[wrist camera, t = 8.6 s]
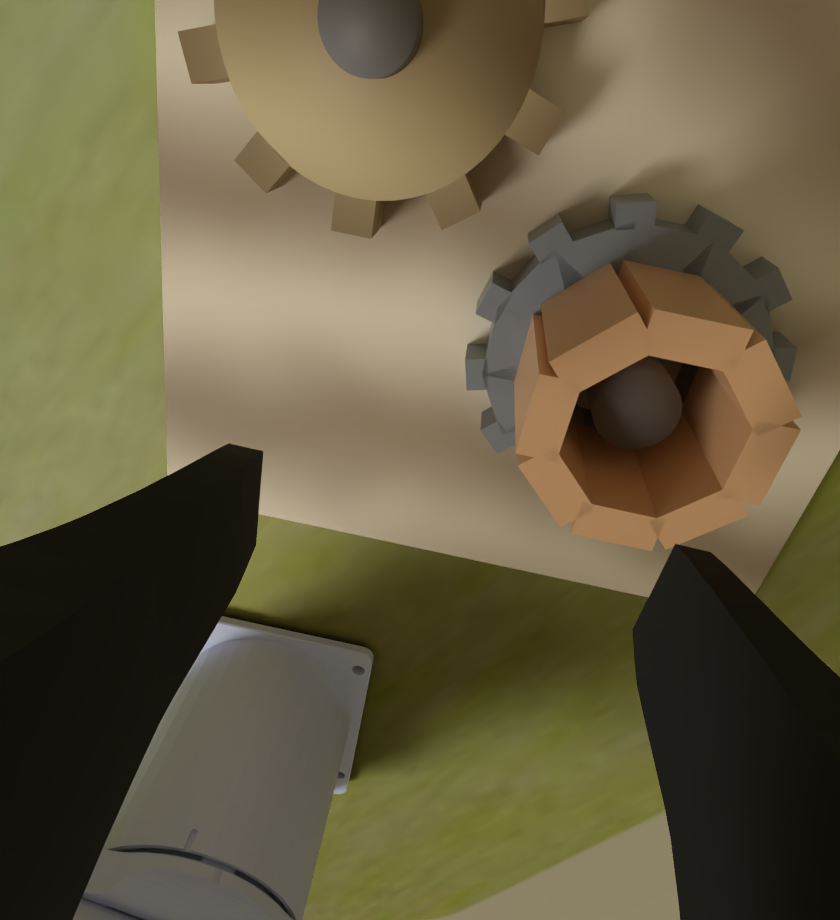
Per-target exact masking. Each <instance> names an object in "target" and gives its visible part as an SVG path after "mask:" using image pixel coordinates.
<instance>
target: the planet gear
mask: <svg viewBox="0 0 840 920" xmlns="http://www.w3.org/2000/svg"><path fill="white" fill-rule="evenodd" d="M656 206H657V201H656V200H655V199H654V198H653V197H651V196H650V195H649V194H648V193H644V194H629V195H615V196H610V199H609V217H608V219H606V220H603V221H600V222H597V223H594V224H591V225H588V226H585V227H582V228H579V229H576V230H573V231H570V232H569V231H568V229H567V227H566V226H565V224H564V222H563V220H562V218H561V217H560V215H559V213H558V214H557V215H555V216H554V217H552V218H551V219H549V220H548V221H546V222H544V223H543V224H541V225H540V226H538V227H537V228H535V229H534V230H532V231H531V232H529V233H528V242H529V245H530V247H531V248H532V250H533V252H534V253H535V255H534V256H533V258H532V259H531V260H530V261H529V262H528V263H527V264H526V265H525V266H524V267H523V268H522V269H521V270H520V271H519V272H518V273H517V274H516V276H515V277H514V278H513V279H512V280H510V279H508V278H506V277H504V276H502V275H500V274H498V273H496V272H494V271H493V272H492V274H491V276H490V278H489V280H488V282H487V283H486V285H485V287H484V289H483V291H482V293H481V295H480V297H479V298H478V300H477V307H476V314H477V315H479V316H480V317H482V318H484V319H486V320H488V321H490V322H492V324H491V328H490V332H489V336H488V340H487V343H485V344H467V350H466V356H465V370H466V390H467V391H468V390H487V393H488V396H489V399H490V402H491V405H492V407H490V408H488V409H486V410H485V411H483V412H482V416H481V428H480V431H481V432H482V433H483V435H484V436H485V438H486V439H487V441H488V442H489V443H490V445H491V446H492V448H493V449H494V451H495V452H496V453H497V454H498V453H500V452H502V451H504V450H506V449H508V448H510V447H512V446H514V447H515V449H516V454H517V461H518V467H519V468H520V470H521V471H522V473H523V474H524V476H525V477H526V479H527V480H528V481H529V483H530V484H531V486H532V487H533V489H534V490H535V492H536V493H537V494H538V496H539V497H540V499H541V500H542V502H543V503H544V505H545V506H546V507H547V509H548V510H549V512H550V513H551V515H552V516H553V518H554V519H555V520H556V522H557V523H558V525H559V526H560V527H561V526H563V525H566V524H568V523H569V524H570V532H571V534H574V535H579V536H583V537H588V538H593V539H597V540H602V541H606V542H611V543H616V544H620V545H625V546H629V547H634V548H639V549H643V550H648V551H652V549H653V547H654V545H655V543H656V541H657V539H658V538H659V540H660V542H661V543H662V545H663V546H664V548H665V550H667V549H669V548H672V547H674V545H675V544H678V545H679V544H681V543H684V542H686V541H689V540H691V539H693V538H696V537H698V536H701V535H703V534H705V533H708V532H710V531H713V530H715V529H717V528H720V527H722V526H725V525H727V524H729V523H732V522H734V521H737V520H739V519H741V518H744V517H746V516H749V515H748V514H747V512H746V510H745V508H744V506H743V504H742V503H741V502H743V503H748V504H752V505H757V506H760V505H761V503H762V501H763V499H764V497H765V495H766V494H767V492H768V490H769V488H770V486H771V484H772V483H773V481H774V479H775V477H776V475H777V473H778V472H779V470H780V468H781V466H782V464H783V462H784V461H785V459H786V457H787V455H788V453H789V451H790V450H791V448H792V446H793V444H794V442H795V440H796V439H797V437H798V435H799V433H800V431H801V429H800V428H799V427H798V426H797V425H796V423H795V422H794V421H793V420H795V419H798V418H800V417H802V415H801V413H800V411H799V409H798V407H797V405H796V402H795V400H794V398H793V396H792V394H791V392H790V390H789V387H788V385H787V383H786V381H790V379H791V375H792V370H793V365H794V360H795V356H796V351H797V347H796V346H795V345H794V344H792V343H791V342H790V341H789V340H788V339H787V338H786V337H785V336H784V335H783V334H782V333H780V332H772V327H771V318H770V311H772V310H774V309H775V308H777V307H779V306H781V305H783V304H785V303H787V302H789V301H791V300H793V299H792V297H791V295H790V293H789V290H788V288H787V286H786V283H785V281H784V279H783V277H782V274H781V272H780V270H779V268H778V267H777V266H775V265H774V264H772V263H771V262H769V261H768V260H766V259H765V258H763V257H762V256H761V257H760V258H758V259H756V260H754V261H752V262H751V263H749V264H747V265H745V266H743V267H742V266H741V264H740V263H739V262H738V261H737V260H736V259H735V258H734V257H733V256H732V255H731V254H730V253H729V251H730V250H731V248H732V247H733V246H734V244H735V243H736V241H737V240H738V239H739V237H740V236H741V234H742V233H743V232H744V230H743V229H741V228H739V227H738V226H736V225H735V224H733V223H731V222H730V221H728V220H726V219H724V218H723V217H721V216H719V215H717V214H715V213H714V212H712V211H710V210H708V209H706V208H705V207H703V206H701V205H699V204H698V205H697V207H696V208H695V210H694V211H693V213H692V214H691V216H690V217H689V219H688V220H687V222H686V223H685V225H683V224H679V223H674V222H669V221H665V220H660V219H655V217H656ZM648 355H649V356H654V357H658V358H663V359H668V360H672V361H677V362H682V363H683V364H682V367H681V369H680V371H679V374H678V376H677V379H676V381H675V383H674V384H675V386H676V388H677V389H678V391H679V394H680V396H681V400H682V413H681V417H680V420H679V422H678V424H677V426H676V427H675V429H674V430H673V431H672V432H671V434H670V435H668V436H667V437H666V438H665V439H664V440H662V441H661V442H659V443H657V444H655V445H653V446H650V447H647V448H642V449H624V448H620V447H617V446H614V445H612V444H610V443H609V442H607V441H606V440H605V439H603V437H602V436H601V435H600V434H599V433H598V431H597V429H596V427H595V424H594V421H593V417H592V413H591V409H586V408H581V407H580V406H579V405H578V404H577V403H576V402H577V399H578V396H579V393H580V392H581V391H583V390H585V389H587V388H589V387H591V386H592V385H594V384H596V383H598V382H600V381H602V380H604V379H605V378H607V377H609V376H611V375H613V374H615V373H617V372H619V371H620V370H622V369H624V368H626V367H628V366H630V365H632V364H634V363H635V362H637V361H639V360H641V359H643V358H645V357H647V356H648Z"/></svg>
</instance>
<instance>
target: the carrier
mask: <svg viewBox="0 0 840 920" xmlns="http://www.w3.org/2000/svg"><path fill="white" fill-rule="evenodd" d="M155 31H156V68H157V105H158V142H159V179H160V217H161V254H162V291H163V328H164V366H165V403H166V440H167V476H168V475H170V474H172V473H174V472H176V471H178V470H179V469H181V468H183V467H185V466H187V465H189V464H190V463H192V462H194V461H196V460H198V459H200V458H201V457H203V456H205V455H207V454H209V453H211V452H213V451H214V450H216V449H218V448H220V447H222V446H224V445H226V444H229V443H230V444H234V445H239V446H243V447H247V448H252V449H256V450H261V451H263V463H262V475H261V488H260V500H259V513H258V514H261V515H266V516H271V517H275V518H280V519H285V520H289V521H294V522H299V523H303V524H308V525H313V526H317V527H322V528H327V529H331V530H336V531H341V532H345V533H350V534H355V535H359V536H364V537H369V538H373V539H378V540H383V541H387V542H392V543H397V544H401V545H406V546H411V547H415V548H420V549H425V550H429V551H434V552H439V553H443V554H448V555H453V556H457V557H462V558H467V559H471V560H476V561H481V562H485V563H490V564H494V565H499V566H504V567H508V568H513V569H518V570H522V571H527V572H532V573H536V574H541V575H546V576H550V577H555V578H560V579H564V580H569V581H574V582H578V583H583V584H588V585H592V586H597V587H602V588H606V589H611V590H616V591H620V592H625V593H630V594H634V595H639V596H644V597H648V598H649V596H650V594H651V592H652V590H653V588H654V586H655V584H656V582H657V580H658V578H659V576H660V574H661V572H662V569H663V567H664V565H665V563H666V561H667V559H668V557H669V555H670V553H671V551H672V549H673V547H672V548H669V549H667V550H665V548H664V546H663V545H662V543H661V542H660V540H659V538H658V539H657V541H656V543H655V545H654V547H653V549H652V551H648V550H643V549H639V548H634V547H629V546H625V545H620V544H616V543H611V542H606V541H602V540H597V539H593V538H588V537H583V536H579V535H574V534H571V532H570V524H569V523H568V524H566V525H563V526H561V527H560V526H559V525H558V523H557V522H556V520H555V519H554V518H553V516H552V515H551V513H550V512H549V510H548V509H547V507H546V506H545V505H544V503H543V502H542V500H541V499H540V497H539V496H538V494H537V493H536V492H535V490H534V489H533V487H532V486H531V484H530V483H529V481H528V480H527V479H526V477H525V476H524V474H523V473H522V471H521V470H520V468H519V467H518V461H517V454H516V449H515V447H514V446H512V447H510V448H508V449H506V450H504V451H502V452H500V453H498V454H497V453H496V452H495V451H494V449H493V448H492V446H491V445H490V443H489V442H488V441H487V439H486V438H485V436H484V435H483V433H482V432H481V431H480V428H481V416H482V412H483V411H485V410H486V409H488V408H490V407H492V405H491V402H490V399H489V396H488V393H487V390H468V391H467V390H466V370H465V356H466V350H467V344H485V343H487V340H488V336H489V332H490V328H491V324H492V322H490V321H488V320H486V319H484V318H482V317H480V316H479V315H477V314H476V307H477V300H478V298H479V297H480V295H481V293H482V291H483V289H484V287H485V285H486V283H487V282H488V280H489V278H490V276H491V274H492V272H493V271H494V272H496V273H498V274H500V275H502V276H504V277H506V278H508V279H510V280H512V279H513V278H514V277H515V276H516V274H517V273H518V272H519V271H520V270H521V269H522V268H523V267H524V266H525V265H526V264H527V263H528V262H529V261H530V260H531V259H532V258H533V256H534V255H535V253H534V252H533V250H532V248H531V247H530V245H529V242H528V233H529V232H531V231H532V230H534V229H535V228H537V227H538V226H540V225H541V224H543V223H544V222H546V221H548V220H549V219H551V218H552V217H554V216H555V215H557V214H558V213H559V215H560V217H561V218H562V220H563V222H564V224H565V226H566V227H567V229H568V231H569V232H570V231H573V230H576V229H579V228H582V227H585V226H588V225H591V224H594V223H597V222H600V221H603V220H606V219H608V217H609V199H610V196H615V195H629V194H644V193H648V194H649V195H650V196H651V197H653V198H654V199H655V200H656V201H657V206H656V217H655V219H660V220H665V221H669V222H674V223H679V224H683V225H685V223H686V222H687V220H688V219H689V217H690V216H691V214H692V213H693V211H694V210H695V208H696V207H697V205H698V204H699V205H701V206H703V207H705V208H706V209H708V210H710V211H712V212H714V213H715V214H717V215H719V216H721V217H723V218H724V219H726V220H728V221H730V222H731V223H733V224H735V225H736V226H738V227H739V228H741V229H743V230H744V232H743V233H742V234H741V236H740V237H739V239H738V240H737V241H736V243H735V244H734V246H733V247H732V248H731V250H730V251H729V253H730V254H731V255H732V256H733V257H734V258H735V259H736V260H737V261H738V262H739V263H740V264H741V266H742V267H743V266H745V265H747V264H749V263H751V262H752V261H754V260H756V259H758V258H760V257H761V256H762V257H763V258H765V259H766V260H768V261H769V262H771V263H772V264H774V265H775V266H777V267H778V268H779V270H780V272H781V274H782V277H783V279H784V281H785V283H786V286H787V288H788V290H789V293H790V295H791V297H792V299H793V300H791V301H789V302H787V303H785V304H783V305H781V306H779V307H777V308H775V309H774V310H772V311H770V318H771V327H772V332H780V333H782V334H783V335H784V336H785V337H786V338H787V339H788V340H789V341H790V342H791V343H792V344H794V345H795V346H796V347H797V351H796V356H795V360H794V365H793V370H792V375H791V379H790V381H786V383H787V385H788V387H789V390H790V392H791V394H792V396H793V398H794V400H795V402H796V405H797V407H798V409H799V411H800V413H801V415H802V417H800V418H798V419H795V420H793V421H794V422H795V423H796V425H797V426H798V427H799V428H800V429H801V431H800V433H799V435H798V437H797V439H796V440H795V442H794V444H793V446H792V448H791V450H790V451H789V453H788V455H787V457H786V459H785V461H784V462H783V464H782V466H781V468H780V470H779V472H778V473H777V475H776V477H775V479H774V481H773V483H772V484H771V486H770V488H769V490H768V492H767V494H766V495H765V497H764V499H763V501H762V503H761V505H760V506H757V505H752V504H748V503H743V502H741V503H742V504H743V506H744V508H745V510H746V512H747V514H748V515H749V516H746V517H744V518H741V519H739V520H737V521H734V522H732V523H729V524H727V525H725V526H722V527H720V528H717V529H715V530H713V531H710V532H708V533H705V534H703V535H701V536H698V537H696V538H693V539H691V540H689V541H686V542H684V543H681V544H679V545H682V546H687V547H691V548H696V549H700V550H705V551H709V552H711V553H712V554H713V555H715V556H716V557H717V558H718V559H719V560H720V561H722V562H723V563H724V564H725V565H726V566H727V567H728V568H729V569H730V570H731V571H732V572H733V573H734V574H735V575H736V576H737V577H738V578H739V579H740V580H741V581H742V582H743V583H744V584H745V585H746V586H747V587H748V588H749V589H750V590H751V591H752V592H753V593H754V594H756V592H757V590H758V589H759V587H760V585H761V584H762V582H763V580H764V578H765V577H766V575H767V573H768V572H769V570H770V568H771V567H772V565H773V563H774V561H775V560H776V558H777V556H778V555H779V553H780V551H781V549H782V548H783V546H784V544H785V543H786V541H787V539H788V537H789V536H790V534H791V532H792V531H793V529H794V527H795V526H796V524H797V522H798V520H799V519H800V517H801V515H802V514H803V512H804V510H805V508H806V507H807V505H808V503H809V502H810V500H811V498H812V497H813V495H814V493H815V491H816V490H817V488H818V486H819V485H820V483H821V481H822V479H823V478H824V476H825V474H826V473H827V471H828V469H829V468H830V466H831V464H832V462H833V461H834V459H835V457H836V456H837V454H838V452H839V450H840V0H155ZM682 364H683V363H682V362H677V361H672V360H668V359H663V358H658V357H654V356H649V355H648V356H647V357H645V358H643V359H641V360H639V361H637V362H635V363H634V364H632V365H630V366H628V367H626V368H624V369H622V370H620V371H619V372H617V373H615V374H613V375H611V376H609V377H607V378H605V379H604V380H602V381H600V382H598V383H596V384H594V385H592V386H591V387H589V388H587V389H585V390H583V391H581V392H580V393H579V396H578V399H577V402H576V403H577V404H578V405H579V406H580V407H581V408H586V409H591V413H592V417H593V421H594V424H595V427H596V429H597V431H598V433H599V434H600V435H601V436H602V437H603V439H605V440H606V441H607V442H609V443H610V444H612V445H614V446H617V447H620V448H624V449H642V448H647V447H650V446H653V445H655V444H657V443H659V442H661V441H662V440H664V439H665V438H666V437H667V436H668V435H670V434H671V432H672V431H673V430H674V429H675V427H676V426H677V424H678V422H679V420H680V417H681V413H682V400H681V396H680V394H679V391H678V389H677V388H676V386H675V384H674V383H675V381H676V379H677V376H678V374H679V371H680V369H681V367H682Z"/></svg>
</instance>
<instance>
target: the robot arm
mask: <svg viewBox="0 0 840 920" xmlns="http://www.w3.org/2000/svg"><path fill="white" fill-rule="evenodd" d="M262 463H263V451H261V450H256V449H252V448H247V447H243V446H239V445H234V444H230V443H229V444H226V445H224V446H222V447H220V448H218V449H216V450H214V451H213V452H211V453H209V454H207V455H205V456H203V457H201V458H200V459H198V460H196V461H194V462H192V463H190V464H189V465H187V466H185V467H183V468H181V469H179V470H178V471H176V472H174V473H172V474H170V475H168V476H166V477H164V478H162V479H160V480H158V481H157V482H155V483H153V484H151V485H149V486H147V487H145V488H143V489H141V490H139V491H137V492H135V493H133V494H130V495H128V496H126V497H124V498H122V499H120V500H117V501H115V502H113V503H111V504H109V505H107V506H105V507H102V508H100V509H98V510H96V511H94V512H92V513H89V514H87V515H85V516H83V517H80V518H78V519H75V520H73V521H70V522H68V523H65V524H63V525H60V526H58V527H55V528H53V529H50V530H47V531H44V532H41V533H39V534H36V535H33V536H30V537H28V538H25V539H22V540H19V541H16V542H13V543H10V544H7V545H4V546H1V547H0V920H302V919H303V915H304V910H305V906H306V902H307V898H308V894H309V890H310V886H311V882H312V878H313V874H314V870H315V866H316V862H317V858H318V854H319V850H320V845H321V841H322V837H323V833H324V829H325V825H326V821H327V817H328V813H329V809H330V805H331V801H332V797H333V793H334V794H343V793H345V792H346V791H347V789H348V784H349V779H350V774H351V769H352V764H353V759H354V754H355V749H356V744H357V739H358V734H359V729H360V724H361V719H362V714H363V709H364V704H365V699H366V694H367V689H368V684H369V679H370V674H371V669H372V664H373V659H374V656H373V653H372V651H370V650H369V649H368V648H365V647H362V646H358V645H353V644H349V643H344V642H339V641H335V640H330V639H325V638H321V637H316V636H312V635H307V634H302V633H298V632H293V631H289V630H284V629H279V628H275V627H270V626H265V625H261V624H256V623H252V622H247V621H242V620H238V619H233V618H228V617H224V616H222V615H223V613H224V612H225V610H226V608H227V607H228V605H229V603H230V601H231V600H232V598H233V596H234V595H235V593H236V591H237V588H238V586H239V584H240V581H241V579H242V577H243V575H244V572H245V570H246V568H247V565H248V563H249V560H250V558H251V555H252V553H253V551H254V548H255V546H256V538H257V525H258V513H259V500H260V488H261V475H262ZM633 642H634V658H635V669H636V679H637V686H638V691H639V696H640V700H641V705H642V709H643V714H644V719H645V723H646V728H647V732H648V736H649V741H650V745H651V749H652V754H653V758H654V762H655V767H656V771H657V775H658V780H659V784H660V788H661V793H662V797H663V801H664V806H665V810H666V815H667V821H668V826H669V831H670V836H671V844H672V852H673V859H674V868H675V876H676V884H677V892H678V900H679V909H680V919H681V920H840V677H839V676H838V675H837V674H836V673H835V672H833V671H832V670H831V669H830V668H829V667H828V666H827V665H826V664H825V663H824V662H823V661H822V660H821V659H819V658H818V657H817V656H816V655H815V654H814V653H813V652H812V651H811V650H810V649H809V648H808V647H807V646H806V645H805V644H804V643H803V642H802V641H801V640H800V639H799V638H798V637H797V636H796V635H795V634H794V633H793V632H792V631H791V630H790V629H789V628H788V627H787V626H786V625H785V624H784V623H783V622H782V621H781V620H780V619H779V618H778V617H777V616H776V615H775V614H774V613H773V612H772V611H771V610H770V609H769V608H768V607H767V606H766V605H765V604H764V603H763V602H762V601H761V600H760V599H759V598H758V597H757V596H756V595H755V594H754V593H753V592H752V591H751V590H750V589H749V588H748V587H747V586H746V585H745V584H744V583H743V582H742V581H741V580H740V579H739V578H738V577H737V576H736V575H735V574H734V573H733V572H732V571H731V570H730V569H729V568H728V567H727V566H726V565H725V564H724V563H723V562H722V561H720V560H719V559H718V558H717V557H716V556H715V555H713V554H712V553H711V552H709V551H705V550H700V549H696V548H691V547H687V546H682V545H678V544H675V545H674V547H673V549H672V551H671V553H670V555H669V557H668V559H667V561H666V563H665V565H664V567H663V569H662V572H661V574H660V576H659V578H658V580H657V582H656V584H655V586H654V588H653V590H652V592H651V594H650V596H649V598H648V600H647V602H646V604H645V606H644V608H643V610H642V612H641V614H640V616H639V618H638V620H637V622H636V624H635V626H634V628H633ZM357 666H360V667H362V668H359V667H357ZM172 699H173V700H172ZM166 710H167V711H166Z"/></svg>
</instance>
